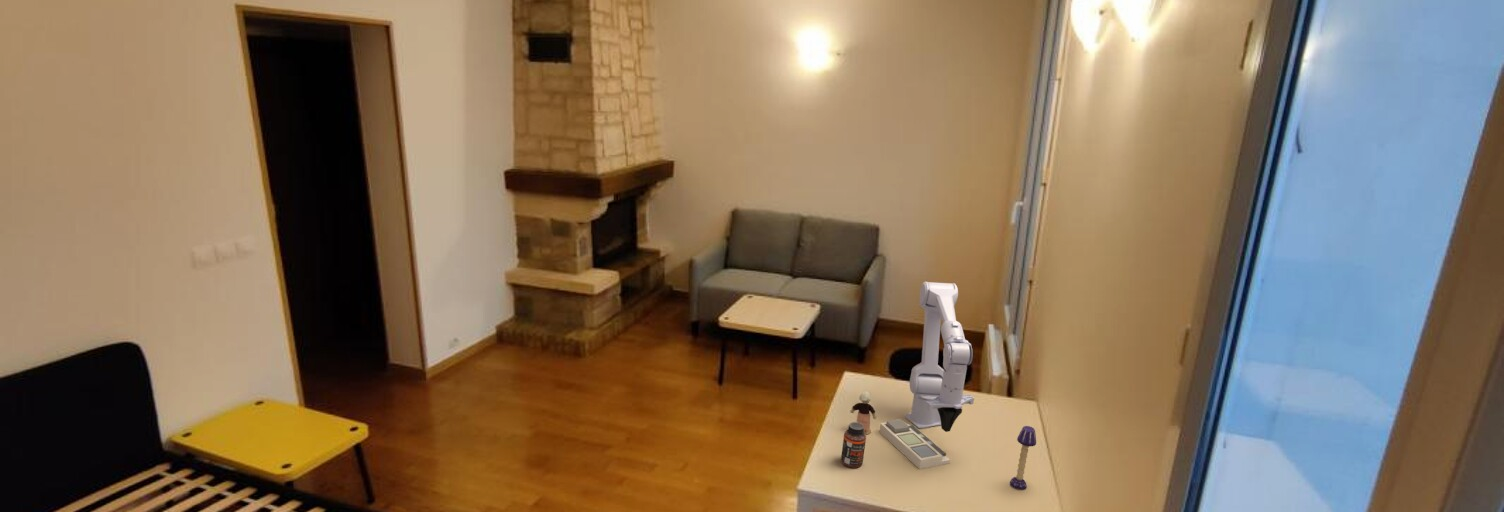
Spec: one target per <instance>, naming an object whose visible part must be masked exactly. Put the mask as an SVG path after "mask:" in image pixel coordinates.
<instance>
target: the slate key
mask: <svg viewBox="0 0 1504 512" xmlns="http://www.w3.org/2000/svg"><path fill="white" fill-rule="evenodd" d="M912 450H913V451H914V452H916V453H917V454H918V455H919V456H920V457H921V458H924V457H929V456H935V455H936V454H935V453H934V452H933V451H932V450H931V449H930V448H928V447H927V446H920V447H915V448H912Z"/></svg>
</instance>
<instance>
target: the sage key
mask: <svg viewBox="0 0 1504 512" xmlns="http://www.w3.org/2000/svg"><path fill="white" fill-rule="evenodd" d="M898 437H899V438H900V439H901V440H902V441H903V442H904V443H906V444H907V445H908V446H909V445H914V444H920V443H922V442H921V441H920V440H919V439H918V438H917V437H916V436H915V435H913V434H909V435H903V436H898Z"/></svg>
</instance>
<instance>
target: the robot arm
mask: <svg viewBox="0 0 1504 512" xmlns="http://www.w3.org/2000/svg"><path fill="white" fill-rule="evenodd" d="M958 297H959V289H958V286H957V284H956V283H954V282H952V283H949V282H933V281H932V282H931V281H930V282H929V281H923V282H922V284H921V285H920V289H919V307H920V308H922V309H924V310H923V311H924V318H923V319H924V321H923V323H924V324H923V335H922V336H923V337H922V350H921V362H920V363H917V364H916V365H914V366H913V367H912V369H911V373H910V376H909V377H910V378H909V391H910V392H911V393H912V394H913V398H912V405H911V411H910V412H911V413H908V414H907V413H906V414H904V417H905V418H906V419H907V420H909V422H910V423H912V425H913V426H915V427H917V429H924V428H930V427H937V426H941V429H942V430H943V431H944V432H946V433H947V432H951V430H952V428H953V426H954V423H955V422H956V420H957V419H958V417H959V416H960V415H961V414H962V413H963V405H966V404H969V405H974V401H975V397H974V396H972V395H971V394H964V393H963V392H964V388H965V382H966V381H965V380H966V375H967V370H968V366H970V365H971V364H972V361H973V348H972V343H970V342H969V340H967V339H966V338H965V333H964V330H963V325H962V324H961V323H960V322H959V321H957V317H956V310H955V306H956V303H957V301H958ZM941 322H942V323H941ZM941 324H942V325H941ZM940 335H941V336H940ZM940 337H942V341H943V346H944V347H943V352H942V353H943V354H942V356H943V360H942V361H943V362H942V367H941V366H940V365H939V364H938V363H939V351H940V350H939V349H940Z"/></svg>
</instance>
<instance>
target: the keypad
mask: <svg viewBox="0 0 1504 512" xmlns="http://www.w3.org/2000/svg"><path fill="white" fill-rule="evenodd" d="M886 422H887V421H886ZM886 422H882V423H880V424H879V433H880V434H881V435H882V436H883V437H884V438H885V439H886V440H888V441H889V442H890V443H891V444H892V446H894V447H895V448H896V449H897V450H898V451H900V453H901V454H903V455H904V456H905V457H906V458H907V459H908V460H909V461H910V462H911V463H912V464H913V465H914V466H916V468H918V469H919V470H922V469H927V468H932V467H936V466H937V467H938V466H943V465H947V464H950V463H951V459H950V458H948V456H946V455H947V453H946V452H945V451H943V449H941V448H940V447H939V446H937V444H936V443H934V442H933V441H932V440H931V439H930V438H928V437H927V436H926V435H925V434H924V433H922V432H921V431H920V430H919V428H918V427H917V428H916V426H915V425H914V424H911V425H910V424H908V423H906V424H907V425H908V426H909V427H910V429H909V431H907V432H901V433H896V434H895V433H894V432H893V431H892V430H891V429H890V428H888V427H887V426H886ZM909 434H913V435H915V436H916V437H917V438H918V439H919V440H920V441H921V442H922V443H920V444H914V445H909V446H908V445H907V444H906V443H904V442H903V441H902V440H901V439H900V438H899V437H898V436H903V435H909ZM920 446H927V447H928V448H930V449H931V450H932V451H933V452H934V453H935V454H936V455H935V456H929V457H924V458H921V457H920V456H919V455H918V454H917V453H916V452H914V451H913V450H912V448H915V447H920Z"/></svg>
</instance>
